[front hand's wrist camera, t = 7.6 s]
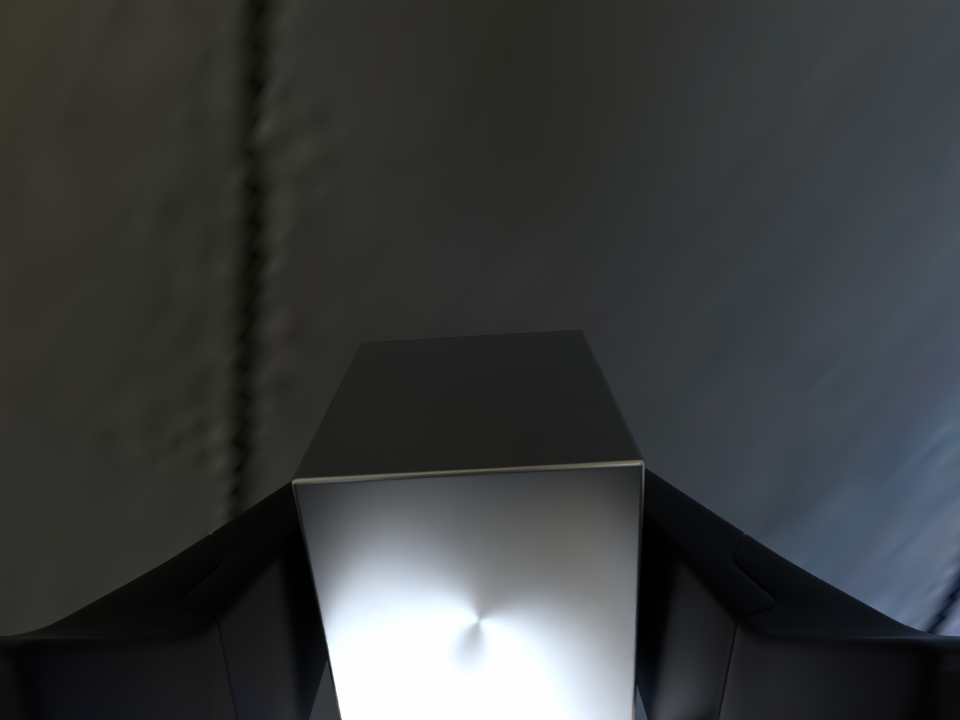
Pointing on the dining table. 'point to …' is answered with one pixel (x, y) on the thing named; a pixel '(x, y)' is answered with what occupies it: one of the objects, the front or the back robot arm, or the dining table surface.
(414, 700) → the metal block
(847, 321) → the dining table surface
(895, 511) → the dining table surface
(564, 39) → the dining table surface
